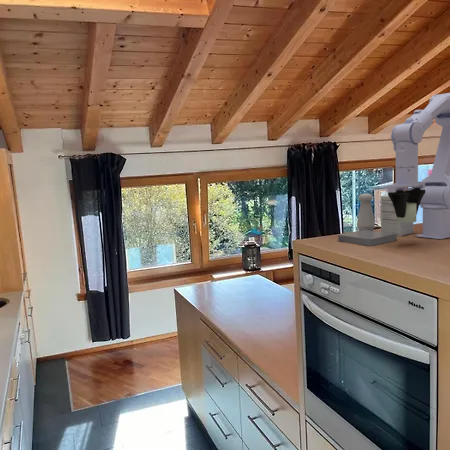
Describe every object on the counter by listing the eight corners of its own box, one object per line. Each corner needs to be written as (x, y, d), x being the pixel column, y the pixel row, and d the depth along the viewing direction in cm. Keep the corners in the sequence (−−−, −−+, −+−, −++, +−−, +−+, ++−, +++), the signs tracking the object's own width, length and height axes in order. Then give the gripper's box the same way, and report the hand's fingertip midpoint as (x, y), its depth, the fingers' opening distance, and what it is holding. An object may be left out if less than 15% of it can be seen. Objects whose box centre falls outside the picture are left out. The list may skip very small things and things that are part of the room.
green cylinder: (404, 219, 125) (404, 202, 124) (420, 220, 121) (420, 203, 120) (393, 221, 122) (393, 204, 122) (409, 223, 118) (409, 204, 117)
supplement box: (393, 231, 146) (393, 193, 144) (414, 233, 140) (414, 194, 138) (380, 234, 142) (379, 195, 140) (400, 236, 136) (400, 196, 134)
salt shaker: (353, 231, 149) (352, 194, 147) (366, 229, 151) (365, 192, 149) (365, 233, 144) (364, 194, 142) (378, 231, 146) (378, 193, 144)
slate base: (364, 236, 140) (364, 229, 139) (396, 240, 130) (396, 233, 129) (338, 241, 133) (338, 234, 133) (370, 246, 123) (370, 239, 123)
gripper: (409, 166, 127) (409, 212, 128) (377, 169, 119) (378, 218, 121) (432, 165, 121) (431, 214, 123) (400, 168, 113) (400, 220, 115)
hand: (406, 216), depth 121 cm, fingers closed on green cylinder, 5 cm apart
